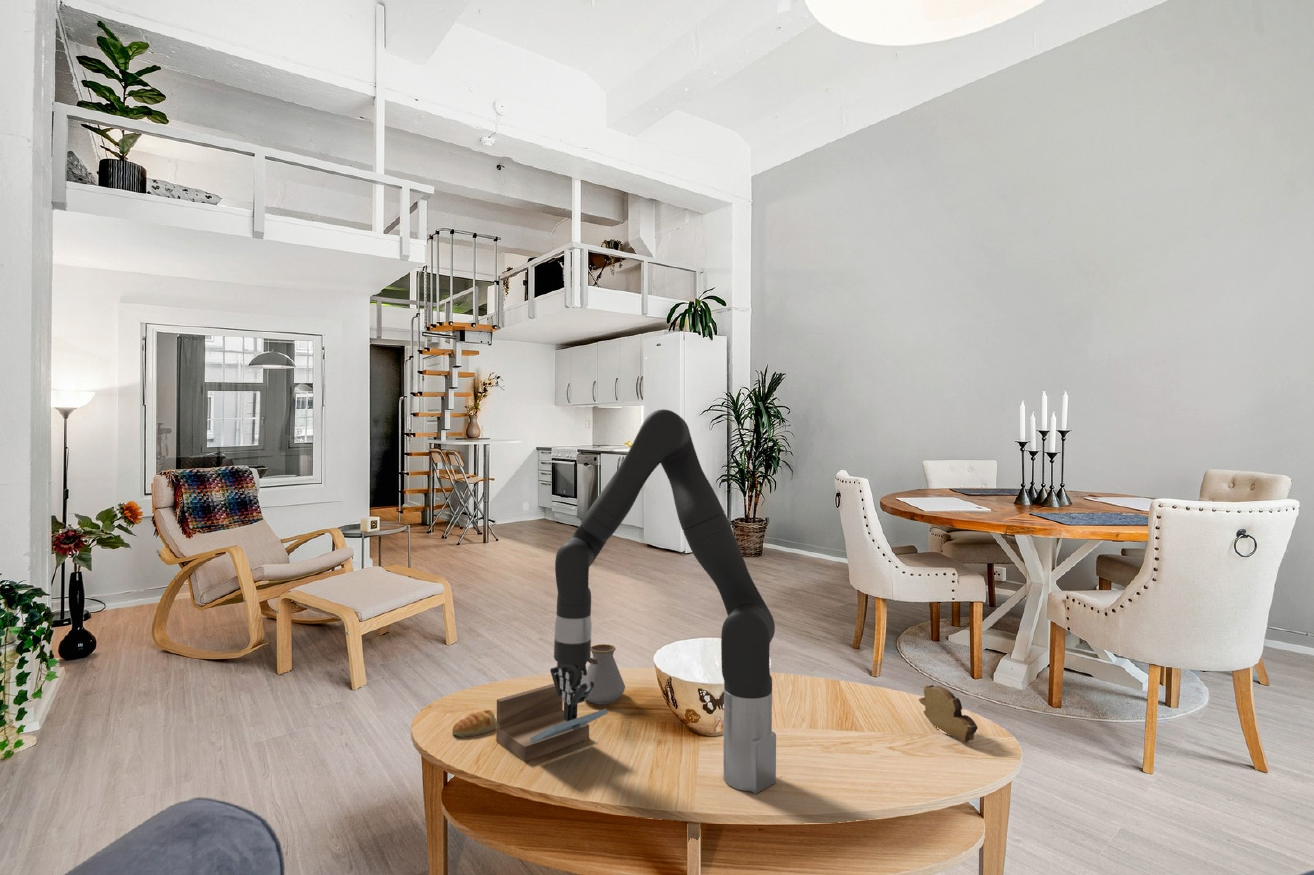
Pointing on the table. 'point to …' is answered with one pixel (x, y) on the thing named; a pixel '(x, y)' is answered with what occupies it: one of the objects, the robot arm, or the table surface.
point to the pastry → (475, 724)
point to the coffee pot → (604, 675)
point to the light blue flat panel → (568, 725)
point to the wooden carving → (947, 713)
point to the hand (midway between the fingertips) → (570, 720)
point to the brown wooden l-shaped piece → (534, 723)
